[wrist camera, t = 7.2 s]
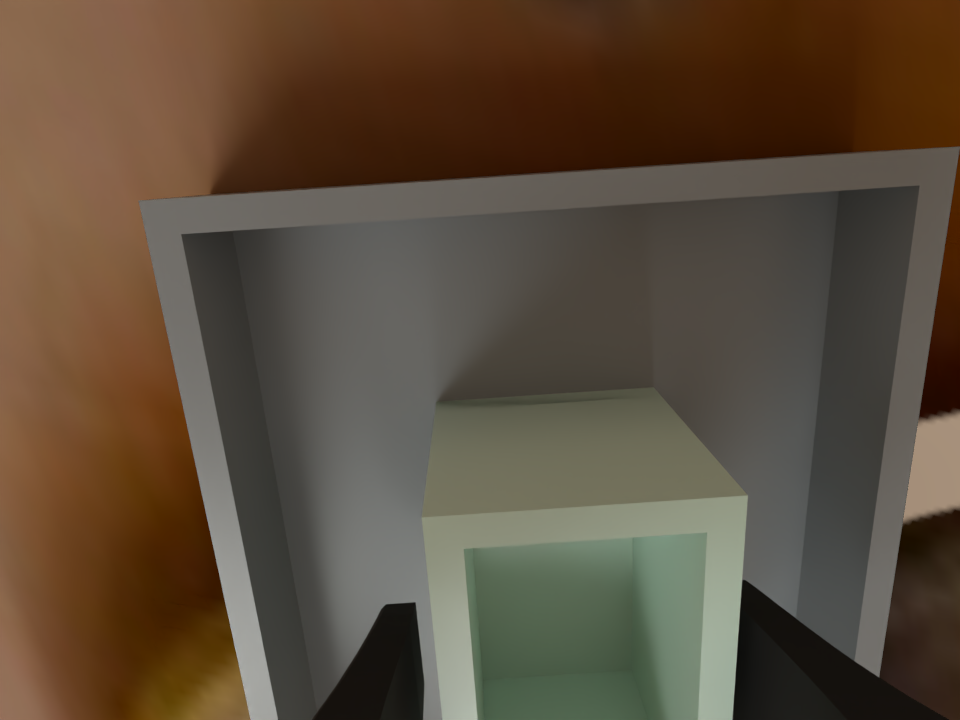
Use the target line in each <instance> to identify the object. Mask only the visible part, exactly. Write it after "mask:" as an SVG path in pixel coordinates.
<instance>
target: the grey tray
mask: <svg viewBox="0 0 960 720" xmlns="http://www.w3.org/2000/svg"><path fill="white" fill-rule="evenodd" d="M959 150H960V147H942V148H922V149H903V150H883V151H863V152H846V153H831V154H816V155H801V156H786V157H770V158H755V159H740V160H725V161H710V162H695V163H679V164H664V165H649V166H634V167H619V168H603V169H588V170H573V171H558V172H543V173H528V174H512V175H497V176H482V177H467V178H452V179H437V180H421V181H406V182H391V183H376V184H361V185H346V186H330V187H315V188H300V189H285V190H270V191H255V192H239V193H224V194H209V195H198V196H186V197H175V198H164V199H152V200H141V201H139V205H140V209H141V214H142V219H143V223H144V228H145V233H146V237H147V242H148V247H149V251H150V256H151V260H152V265H153V270H154V274H155V279H156V284H157V288H158V293H159V297H160V302H161V307H162V311H163V316H164V321H165V325H166V330H167V335H168V339H169V344H170V348H171V353H172V358H173V362H174V367H175V372H176V376H177V381H178V386H179V390H180V395H181V399H182V404H183V409H184V413H185V418H186V423H187V427H188V432H189V436H190V441H191V446H192V450H193V455H194V460H195V464H196V469H197V474H198V478H199V483H200V487H201V492H202V497H203V501H204V506H205V511H206V515H207V520H208V525H209V529H210V534H211V538H212V543H213V548H214V552H215V557H216V562H217V566H218V571H219V575H220V580H221V585H222V589H223V594H224V599H225V603H226V608H227V613H228V617H229V622H230V626H231V631H232V636H233V640H234V645H235V650H236V654H237V659H238V664H239V668H240V673H241V677H242V682H243V687H244V691H245V696H246V701H247V705H248V710H249V714H250V719H251V720H312V719H313V717H314V716H315V714H316V713H317V712H318V710H319V709H320V707H321V706H322V705H323V703H324V702H325V701H326V699H327V698H328V696H329V695H330V694H331V692H332V691H333V689H334V688H335V686H336V685H337V684H338V682H339V681H340V679H341V677H342V676H343V674H344V673H345V671H346V670H347V668H348V666H349V665H350V663H351V662H352V660H353V659H354V657H355V655H356V654H357V652H358V650H359V649H360V647H361V645H362V644H363V642H364V640H365V639H366V637H367V635H368V633H369V631H370V630H371V628H372V626H373V624H374V622H375V620H376V618H377V617H378V614H379V612H380V610H381V609H382V608H383V607H384V606H385V605H386V604H397V603H411V602H416V611H417V620H418V629H419V638H420V647H421V656H422V665H423V674H424V711H423V720H442V711H441V702H440V692H439V682H438V672H437V663H436V653H435V643H434V633H433V624H432V614H431V604H430V594H429V585H428V575H427V565H426V555H425V546H424V536H423V526H422V511H423V503H424V495H425V487H426V479H427V471H428V464H429V456H430V448H431V440H432V432H433V424H434V416H435V409H436V402H440V401H455V400H470V399H485V398H500V397H515V396H529V395H544V394H559V393H574V392H589V391H604V390H619V389H634V388H649V387H654V388H655V389H656V391H657V392H658V393H659V394H660V395H661V396H662V397H663V399H664V400H665V401H666V402H667V403H668V404H669V405H670V407H671V408H672V409H673V410H674V411H675V412H676V414H677V415H678V416H679V417H680V418H681V419H682V420H683V422H684V423H685V424H686V425H687V426H688V427H689V428H690V430H691V431H692V432H693V433H694V434H695V435H696V436H697V438H698V439H699V440H700V441H701V442H702V443H703V444H704V446H705V447H706V448H707V449H708V450H709V451H710V453H711V454H712V455H713V456H714V457H715V458H716V459H717V461H718V462H719V463H720V464H721V465H722V466H723V467H724V469H725V470H726V471H727V472H728V473H729V474H730V475H731V477H732V478H733V479H734V480H735V481H736V482H737V483H738V485H739V486H740V487H741V488H742V489H743V490H744V491H745V493H746V494H747V495H748V502H747V517H746V531H745V546H744V560H743V574H742V580H746V581H748V582H749V583H750V584H752V585H753V586H754V587H756V588H757V589H758V590H760V591H761V592H762V593H764V594H765V595H766V596H768V597H769V598H770V599H771V600H773V601H774V602H775V603H777V604H778V605H779V606H780V607H782V608H783V609H784V610H786V611H787V612H788V613H790V614H791V615H792V616H794V617H795V618H796V619H797V620H799V621H800V622H801V623H803V624H804V625H805V626H807V627H808V628H809V629H811V630H812V631H813V632H815V633H816V634H817V635H819V636H820V637H821V638H823V639H824V640H826V641H827V642H828V643H830V644H831V645H832V646H834V647H835V648H837V649H838V650H839V651H841V652H842V653H844V654H845V655H847V656H848V657H849V658H851V659H852V660H854V661H855V662H857V663H858V664H860V665H861V666H863V667H864V668H866V669H867V670H869V671H870V672H872V673H873V674H875V675H876V676H878V677H879V674H880V667H881V661H882V654H883V648H884V641H885V634H886V628H887V621H888V615H889V608H890V602H891V595H892V589H893V582H894V575H895V569H896V562H897V556H898V549H899V543H900V536H901V530H902V523H903V517H904V510H905V503H906V496H907V490H908V484H909V477H910V470H911V464H912V457H913V451H914V444H915V437H916V431H917V425H918V418H919V412H920V405H921V399H922V392H923V385H924V379H925V372H926V366H927V359H928V353H929V346H930V340H931V333H932V326H933V320H934V313H935V307H936V300H937V294H938V287H939V281H940V274H941V267H942V261H943V254H944V248H945V241H946V235H947V228H948V222H949V215H950V209H951V202H952V195H953V189H954V182H955V176H956V169H957V163H958V156H959ZM732 720H733V719H732Z"/></svg>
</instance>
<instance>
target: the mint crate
mask: <svg viewBox="0 0 960 720" xmlns="http://www.w3.org/2000/svg"><path fill="white" fill-rule="evenodd" d="M747 502H748V495H747V494H746V493H745V491H744V490H743V489H742V488H741V487H740V486H739V485H738V483H737V482H736V481H735V480H734V479H733V478H732V477H731V475H730V474H729V473H728V472H727V471H726V470H725V469H724V467H723V466H722V465H721V464H720V463H719V462H718V461H717V459H716V458H715V457H714V456H713V455H712V454H711V453H710V451H709V450H708V449H707V448H706V447H705V446H704V444H703V443H702V442H701V441H700V440H699V439H698V438H697V436H696V435H695V434H694V433H693V432H692V431H691V430H690V428H689V427H688V426H687V425H686V424H685V423H684V422H683V420H682V419H681V418H680V417H679V416H678V415H677V414H676V412H675V411H674V410H673V409H672V408H671V407H670V405H669V404H668V403H667V402H666V401H665V400H664V399H663V397H662V396H661V395H660V394H659V393H658V392H657V391H656V389H655V388H654V387H649V388H634V389H619V390H604V391H589V392H574V393H559V394H544V395H529V396H515V397H500V398H485V399H470V400H455V401H440V402H436V409H435V416H434V424H433V432H432V440H431V448H430V456H429V464H428V471H427V479H426V487H425V495H424V503H423V511H422V526H423V536H424V546H425V555H426V565H427V575H428V585H429V594H430V604H431V614H432V624H433V633H434V643H435V653H436V663H437V672H438V682H439V692H440V702H441V711H442V720H732V719H733V704H734V690H735V675H736V661H737V646H738V632H739V618H740V603H741V589H742V574H743V560H744V546H745V531H746V517H747Z"/></svg>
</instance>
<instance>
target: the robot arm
mask: <svg viewBox="0 0 960 720" xmlns="http://www.w3.org/2000/svg"><path fill="white" fill-rule="evenodd" d="M423 711H424V674H423V665H422V656H421V647H420V638H419V629H418V620H417V611H416V602H411V603H397V604H386V605H385V606H384V607H383V608H382V609H381V610H380V612H379V614H378V617H377V618H376V620H375V622H374V624H373V626H372V628H371V630H370V631H369V633H368V635H367V637H366V639H365V640H364V642H363V644H362V645H361V647H360V649H359V650H358V652H357V654H356V655H355V657H354V659H353V660H352V662H351V663H350V665H349V666H348V668H347V670H346V671H345V673H344V674H343V676H342V677H341V679H340V681H339V682H338V684H337V685H336V686H335V688H334V689H333V691H332V692H331V694H330V695H329V696H328V698H327V699H326V701H325V702H324V703H323V705H322V706H321V707H320V709H319V710H318V712H317V713H316V714H315V716H314V717H313V719H312V720H423ZM733 720H948V719H947V718H945V717H943V716H941V715H940V714H938V713H936V712H935V711H933V710H931V709H929V708H928V707H926V706H924V705H923V704H921V703H919V702H917V701H916V700H914V699H912V698H911V697H909V696H907V695H906V694H904V693H902V692H901V691H899V690H898V689H896V688H894V687H893V686H891V685H890V684H888V683H887V682H885V681H884V680H882V679H881V678H879V677H878V676H876V675H875V674H873V673H872V672H870V671H869V670H867V669H866V668H864V667H863V666H861V665H860V664H858V663H857V662H855V661H854V660H852V659H851V658H849V657H848V656H847V655H845V654H844V653H842V652H841V651H839V650H838V649H837V648H835V647H834V646H832V645H831V644H830V643H828V642H827V641H826V640H824V639H823V638H821V637H820V636H819V635H817V634H816V633H815V632H813V631H812V630H811V629H809V628H808V627H807V626H805V625H804V624H803V623H801V622H800V621H799V620H797V619H796V618H795V617H794V616H792V615H791V614H790V613H788V612H787V611H786V610H784V609H783V608H782V607H780V606H779V605H778V604H777V603H775V602H774V601H773V600H771V599H770V598H769V597H768V596H766V595H765V594H764V593H762V592H761V591H760V590H758V589H757V588H756V587H754V586H753V585H752V584H750V583H749V582H748V581H746V580H742V589H741V603H740V618H739V632H738V646H737V661H736V675H735V690H734V704H733Z"/></svg>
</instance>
